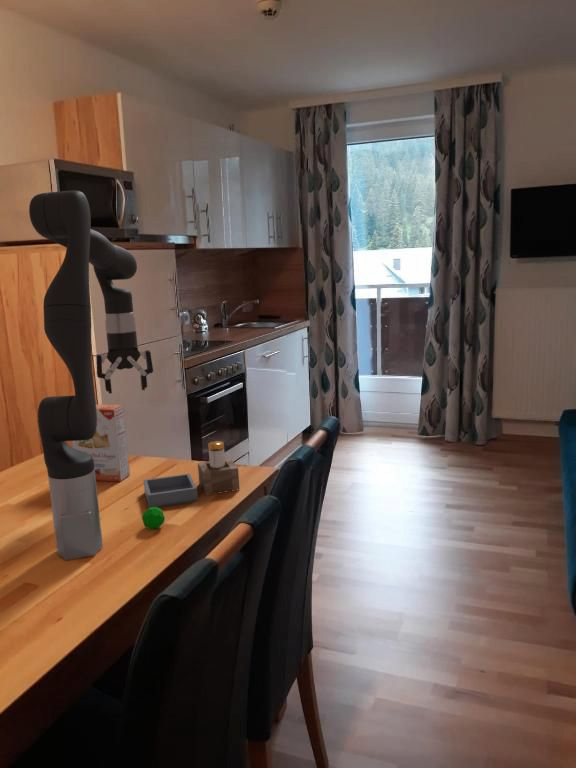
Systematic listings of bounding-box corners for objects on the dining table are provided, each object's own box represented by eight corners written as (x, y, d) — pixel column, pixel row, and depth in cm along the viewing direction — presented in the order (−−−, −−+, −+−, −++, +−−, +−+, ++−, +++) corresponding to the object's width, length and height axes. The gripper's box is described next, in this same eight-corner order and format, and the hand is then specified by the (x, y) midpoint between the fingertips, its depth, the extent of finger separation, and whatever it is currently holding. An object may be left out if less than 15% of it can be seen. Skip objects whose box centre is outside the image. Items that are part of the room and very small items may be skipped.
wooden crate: (239, 490, 167) (238, 468, 166) (205, 495, 165) (203, 472, 163) (232, 479, 176) (230, 458, 174) (199, 483, 173) (197, 462, 172)
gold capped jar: (228, 488, 169) (225, 444, 166) (213, 490, 168) (209, 446, 165) (224, 483, 173) (222, 440, 170) (210, 485, 171) (207, 442, 169)
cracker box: (75, 480, 180) (66, 408, 176) (86, 473, 186) (78, 403, 182) (120, 482, 177) (113, 408, 173) (130, 475, 183) (123, 403, 179)
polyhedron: (141, 526, 147) (139, 506, 146) (163, 522, 149) (161, 502, 148) (145, 534, 143) (143, 514, 142) (167, 530, 144) (165, 509, 144)
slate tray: (197, 501, 161) (196, 488, 160) (149, 508, 157) (147, 495, 156) (190, 485, 172) (189, 473, 171) (144, 492, 168) (143, 479, 168)
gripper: (93, 333, 161) (99, 397, 164) (150, 329, 166) (156, 390, 169) (92, 331, 168) (98, 391, 171) (147, 327, 173) (152, 386, 176)
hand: (127, 391), depth 170 cm, fingers open, 8 cm apart
